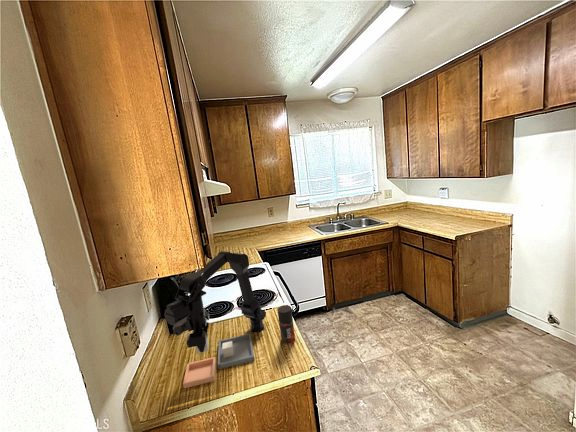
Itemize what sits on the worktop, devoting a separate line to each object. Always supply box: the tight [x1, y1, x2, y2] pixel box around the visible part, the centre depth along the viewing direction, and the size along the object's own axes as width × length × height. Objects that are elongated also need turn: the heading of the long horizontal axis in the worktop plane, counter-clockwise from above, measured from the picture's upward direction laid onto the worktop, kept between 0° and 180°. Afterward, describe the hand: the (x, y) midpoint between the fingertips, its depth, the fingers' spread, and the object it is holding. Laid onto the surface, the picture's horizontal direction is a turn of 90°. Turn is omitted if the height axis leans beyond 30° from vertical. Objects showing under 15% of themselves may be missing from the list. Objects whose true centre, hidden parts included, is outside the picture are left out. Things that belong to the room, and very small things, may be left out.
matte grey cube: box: [194, 337, 210, 355], centre depth 101 cm, size 4×4×4 cm
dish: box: [182, 356, 217, 389], centre depth 103 cm, size 11×11×2 cm
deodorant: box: [277, 304, 296, 345], centre depth 116 cm, size 6×6×15 cm
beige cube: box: [222, 341, 234, 358], centre depth 112 cm, size 4×4×4 cm
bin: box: [217, 332, 255, 370], centre depth 113 cm, size 16×14×2 cm
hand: (202, 348), depth 101 cm, fingers closed on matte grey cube, 4 cm apart
